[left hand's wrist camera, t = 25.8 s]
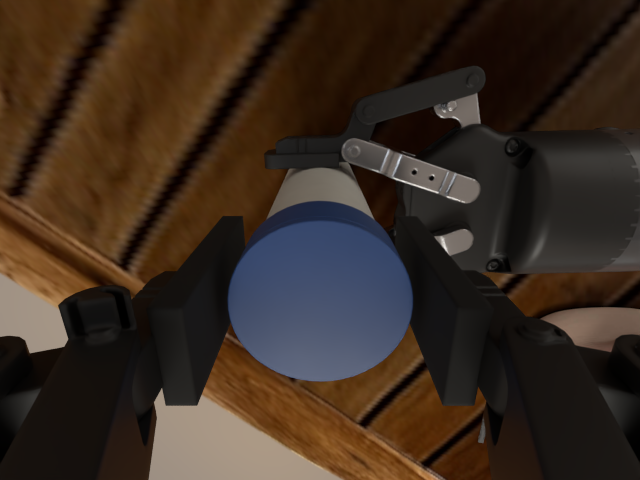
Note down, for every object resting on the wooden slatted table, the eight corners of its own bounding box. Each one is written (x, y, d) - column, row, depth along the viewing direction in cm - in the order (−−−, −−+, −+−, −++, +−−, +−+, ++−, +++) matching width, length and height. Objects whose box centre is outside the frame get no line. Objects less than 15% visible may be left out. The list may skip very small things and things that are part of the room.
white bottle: (287, 214, 26) (247, 355, 12) (285, 147, 25) (236, 216, 10) (352, 215, 26) (391, 356, 12) (355, 148, 25) (405, 218, 10)
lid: (321, 366, 13) (321, 408, 11) (209, 277, 12) (188, 309, 10) (431, 275, 12) (452, 307, 10) (318, 164, 11) (318, 178, 9)
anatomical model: (499, 441, 29) (554, 321, 25) (479, 402, 33) (523, 292, 29) (653, 458, 30) (731, 345, 26) (616, 419, 33) (679, 314, 29)
